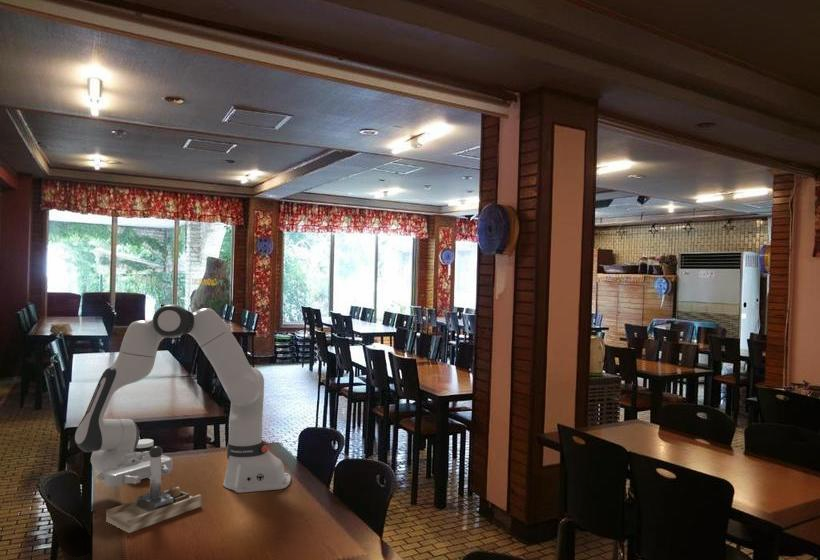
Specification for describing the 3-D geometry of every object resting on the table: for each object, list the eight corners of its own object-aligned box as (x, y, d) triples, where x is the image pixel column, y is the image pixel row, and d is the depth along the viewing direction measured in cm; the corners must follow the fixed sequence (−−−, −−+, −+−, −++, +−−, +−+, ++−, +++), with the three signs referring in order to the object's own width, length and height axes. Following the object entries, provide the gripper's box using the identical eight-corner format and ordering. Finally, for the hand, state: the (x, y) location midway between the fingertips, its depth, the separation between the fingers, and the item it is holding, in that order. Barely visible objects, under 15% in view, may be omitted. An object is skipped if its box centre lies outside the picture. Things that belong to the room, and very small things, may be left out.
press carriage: (154, 513, 168) (155, 451, 168) (137, 506, 173) (137, 446, 173) (175, 506, 173) (176, 446, 173) (158, 499, 178) (158, 440, 178)
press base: (129, 533, 160) (129, 519, 160) (106, 522, 167) (106, 508, 167) (201, 506, 179) (201, 494, 179) (177, 497, 186) (177, 485, 186)
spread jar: (139, 469, 212) (139, 437, 212) (169, 469, 212) (170, 438, 212) (121, 480, 200) (122, 447, 200) (154, 481, 200) (154, 447, 200)
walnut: (182, 498, 180) (182, 485, 180) (178, 503, 176) (178, 490, 176) (168, 498, 179) (169, 485, 179) (164, 503, 175) (164, 490, 175)
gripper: (93, 465, 172) (119, 475, 165) (157, 449, 189) (182, 457, 182) (93, 486, 172) (118, 497, 165) (157, 468, 189) (182, 477, 182)
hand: (153, 476), depth 173 cm, fingers open, 8 cm apart
